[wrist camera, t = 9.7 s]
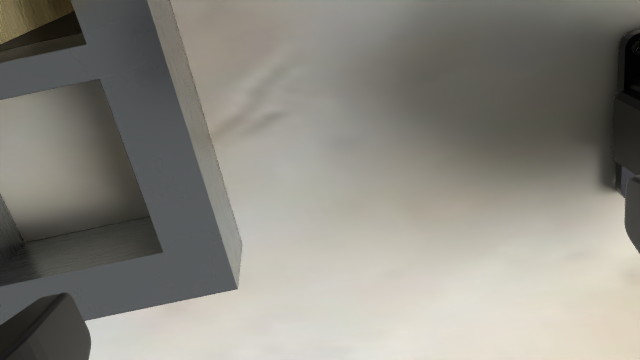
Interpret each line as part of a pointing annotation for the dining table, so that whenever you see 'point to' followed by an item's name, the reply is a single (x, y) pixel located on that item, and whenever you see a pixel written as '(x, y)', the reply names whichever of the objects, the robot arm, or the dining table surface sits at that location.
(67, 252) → the grey slotted tray
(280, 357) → the dining table surface
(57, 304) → the robot arm
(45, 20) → the brass block
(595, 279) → the dining table surface
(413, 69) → the dining table surface
